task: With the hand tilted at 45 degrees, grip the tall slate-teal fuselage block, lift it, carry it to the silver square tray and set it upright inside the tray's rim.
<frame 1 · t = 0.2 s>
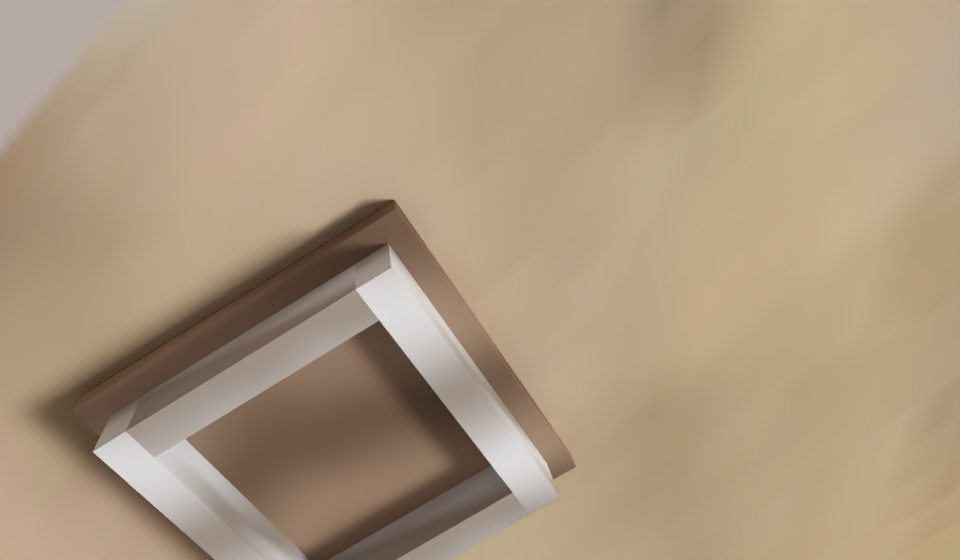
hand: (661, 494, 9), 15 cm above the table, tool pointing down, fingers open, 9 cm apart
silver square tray: (344, 427, 26), on the table
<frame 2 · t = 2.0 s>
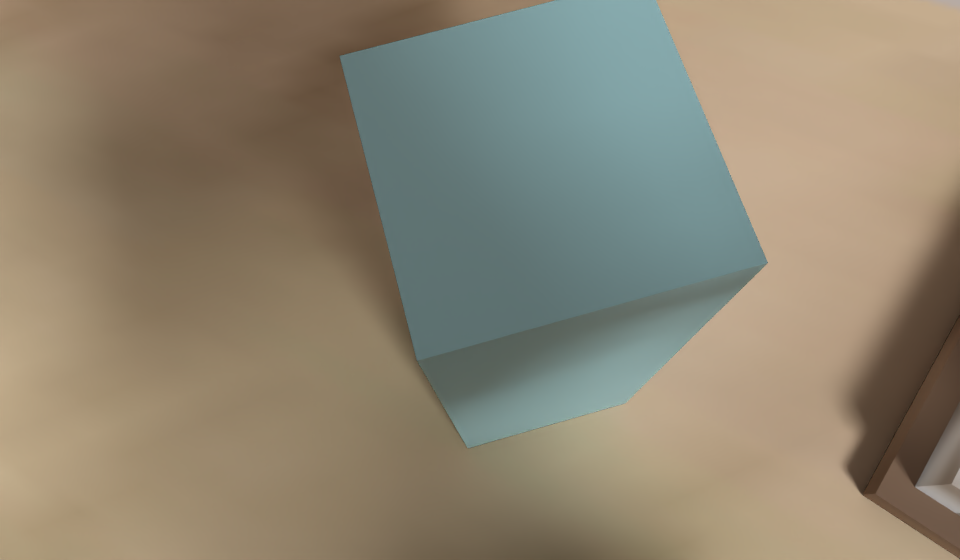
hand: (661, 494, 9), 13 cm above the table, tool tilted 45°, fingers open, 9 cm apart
fuselage block: (523, 348, 23), on the table
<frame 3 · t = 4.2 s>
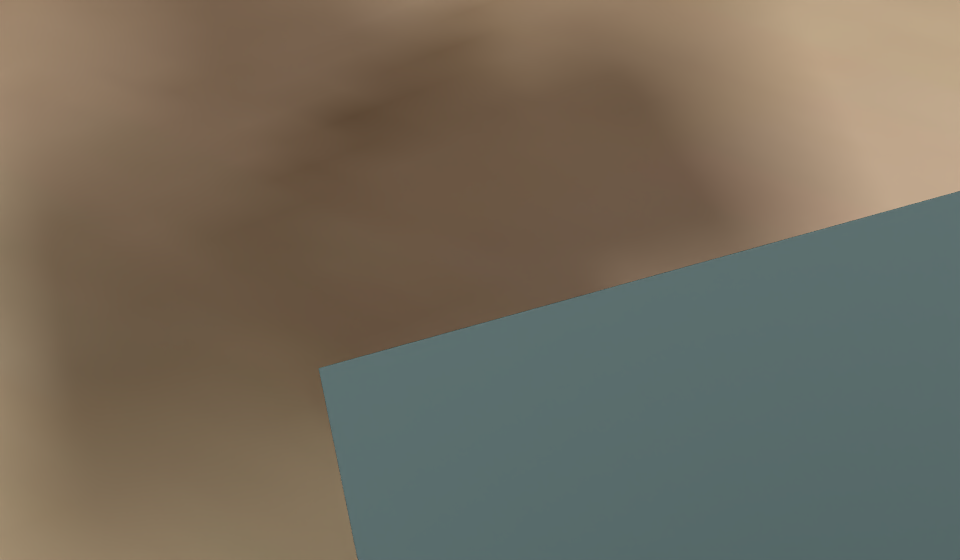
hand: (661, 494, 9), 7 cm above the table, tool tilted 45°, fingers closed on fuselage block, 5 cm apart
when the fingers open (8 cm above the table, at t = 8.9 s): fuselage block stays where it is, resting on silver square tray.
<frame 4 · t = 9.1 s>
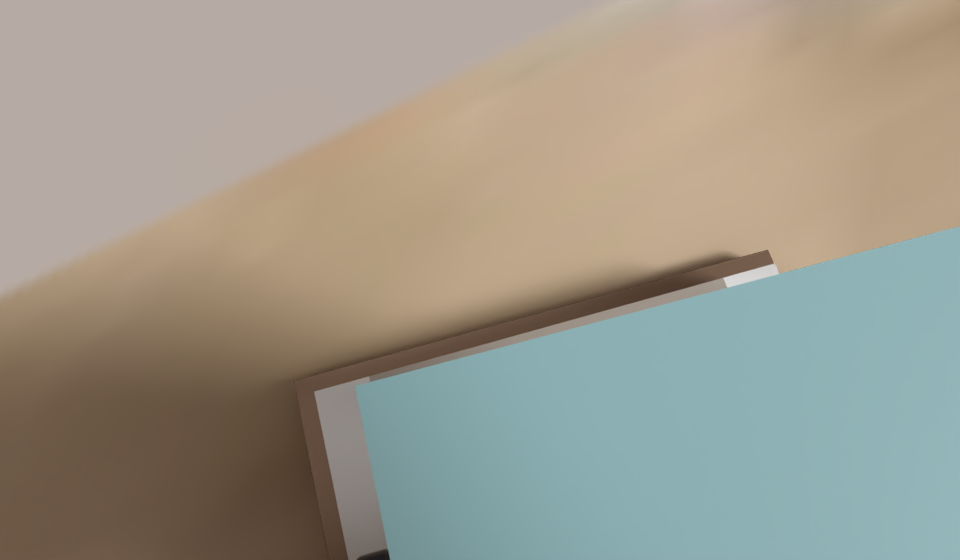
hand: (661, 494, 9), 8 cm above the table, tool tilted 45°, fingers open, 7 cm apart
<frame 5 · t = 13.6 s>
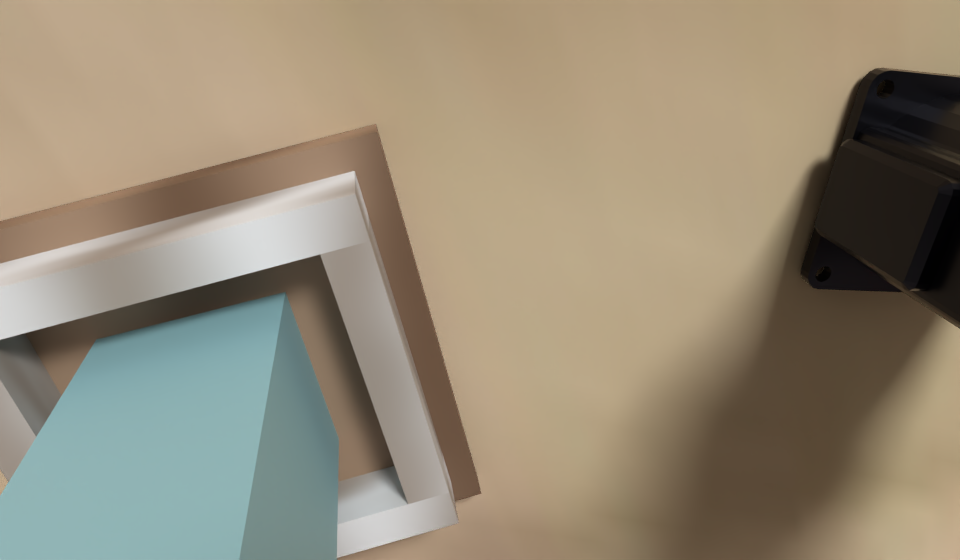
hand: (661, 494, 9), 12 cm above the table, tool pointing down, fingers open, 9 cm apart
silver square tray: (230, 378, 21), on the table
fuselage block: (225, 392, 20), point 1 cm above the table, touching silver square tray
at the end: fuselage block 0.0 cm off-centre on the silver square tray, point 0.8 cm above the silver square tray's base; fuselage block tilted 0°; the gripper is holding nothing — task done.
